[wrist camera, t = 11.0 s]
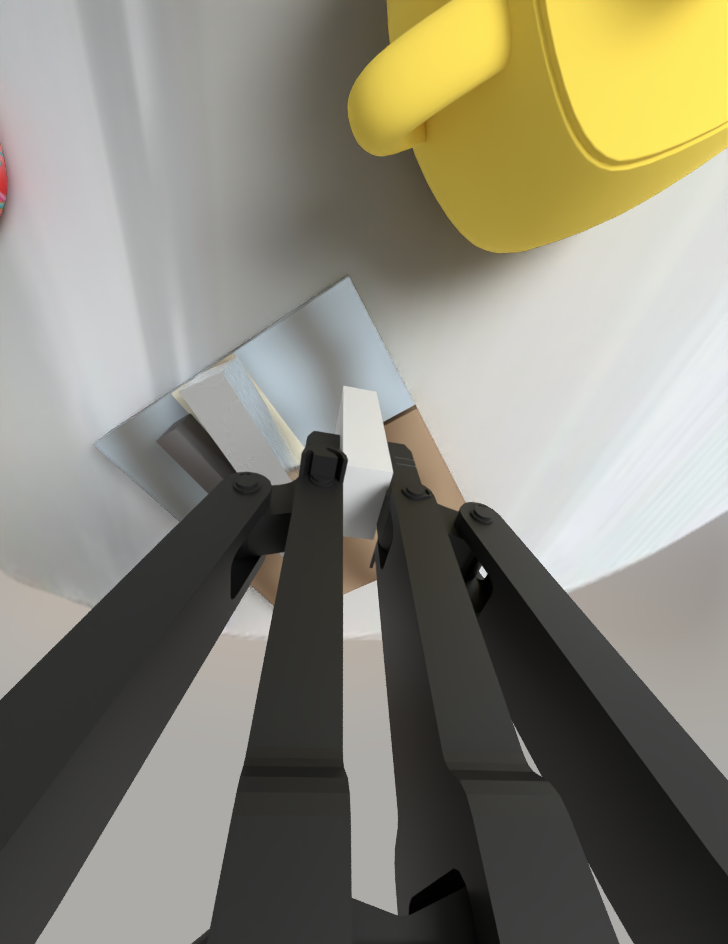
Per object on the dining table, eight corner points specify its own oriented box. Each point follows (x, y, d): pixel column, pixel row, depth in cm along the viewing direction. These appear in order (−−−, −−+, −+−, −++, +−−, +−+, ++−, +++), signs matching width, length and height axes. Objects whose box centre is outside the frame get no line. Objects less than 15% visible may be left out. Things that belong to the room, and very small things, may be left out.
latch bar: (337, 515, 26) (336, 559, 22) (298, 530, 27) (291, 575, 23) (242, 353, 20) (219, 377, 16) (193, 376, 20) (160, 404, 17)
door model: (348, 274, 20) (350, 279, 16) (473, 518, 30) (493, 556, 27) (110, 431, 24) (67, 464, 21) (290, 600, 34) (284, 643, 31)
